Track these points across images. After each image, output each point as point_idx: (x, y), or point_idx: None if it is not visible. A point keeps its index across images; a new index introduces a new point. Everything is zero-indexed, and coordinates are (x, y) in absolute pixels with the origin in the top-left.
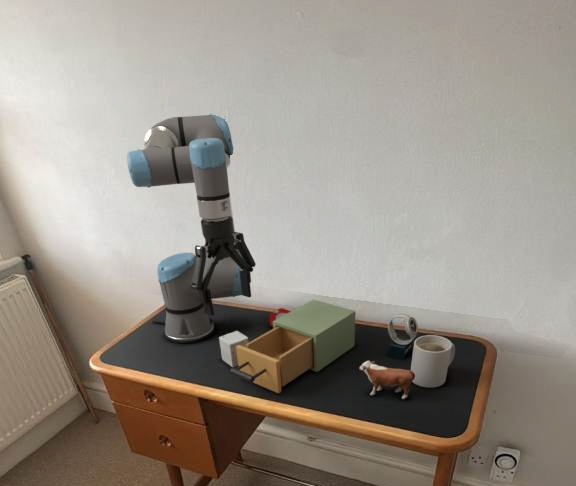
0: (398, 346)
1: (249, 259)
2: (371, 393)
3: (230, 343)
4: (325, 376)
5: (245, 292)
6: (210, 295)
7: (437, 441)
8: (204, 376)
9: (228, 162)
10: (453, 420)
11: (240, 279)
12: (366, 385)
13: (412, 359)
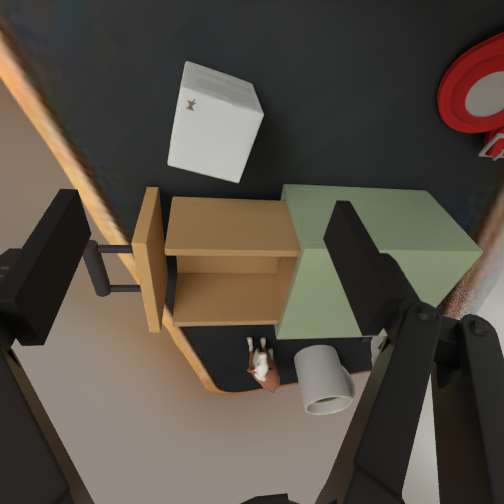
0: (365, 337)
1: (435, 404)
2: (247, 340)
3: (174, 162)
4: None
5: (335, 233)
6: (55, 311)
7: (209, 388)
8: (79, 81)
9: None
10: (248, 385)
11: (366, 258)
12: (266, 327)
13: (313, 375)
